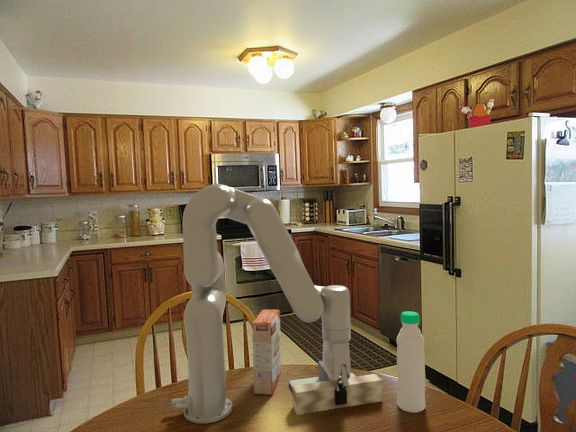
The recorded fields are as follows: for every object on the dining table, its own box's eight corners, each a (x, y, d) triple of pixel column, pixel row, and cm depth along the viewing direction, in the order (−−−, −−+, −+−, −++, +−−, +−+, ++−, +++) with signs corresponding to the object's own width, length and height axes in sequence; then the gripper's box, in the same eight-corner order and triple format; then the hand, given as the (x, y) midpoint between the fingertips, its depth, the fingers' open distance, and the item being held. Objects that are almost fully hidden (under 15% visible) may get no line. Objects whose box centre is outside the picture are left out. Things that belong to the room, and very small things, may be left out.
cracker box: (274, 396, 117) (271, 323, 115) (253, 395, 118) (250, 322, 116) (282, 374, 130) (280, 308, 129) (263, 373, 131) (261, 308, 130)
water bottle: (429, 413, 105) (428, 316, 104) (401, 414, 105) (399, 317, 104) (420, 399, 112) (419, 308, 111) (394, 400, 112) (393, 309, 111)
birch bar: (296, 415, 106) (296, 392, 106) (292, 407, 110) (292, 385, 110) (382, 401, 112) (382, 379, 112) (375, 394, 116) (375, 373, 116)
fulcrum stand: (293, 393, 118) (293, 372, 118) (289, 383, 124) (288, 364, 123) (359, 384, 122) (359, 364, 122) (352, 375, 128) (352, 356, 128)
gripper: (314, 324, 118) (315, 387, 119) (333, 345, 101) (334, 418, 102) (339, 322, 119) (340, 384, 120) (361, 342, 103) (363, 413, 104)
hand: (337, 399), depth 111 cm, fingers closed on birch bar, 4 cm apart
